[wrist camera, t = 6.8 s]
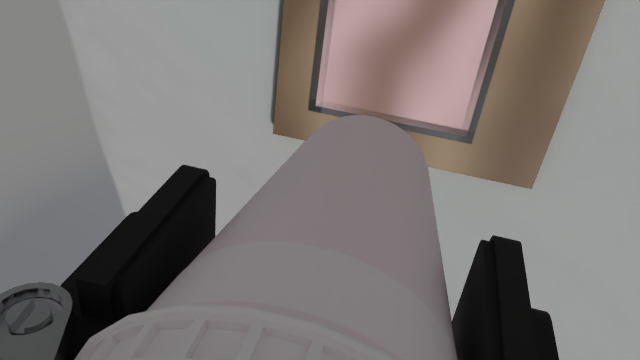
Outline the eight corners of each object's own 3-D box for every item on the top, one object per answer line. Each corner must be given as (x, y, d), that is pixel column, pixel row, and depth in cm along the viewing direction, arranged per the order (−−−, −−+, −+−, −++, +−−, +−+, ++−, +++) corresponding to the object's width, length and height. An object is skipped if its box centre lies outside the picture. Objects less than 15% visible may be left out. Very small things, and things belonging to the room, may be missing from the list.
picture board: (647, -119, 24) (652, -118, 23) (530, 183, 32) (531, 189, 32) (300, -166, 26) (296, -167, 25) (275, 129, 34) (272, 134, 34)
